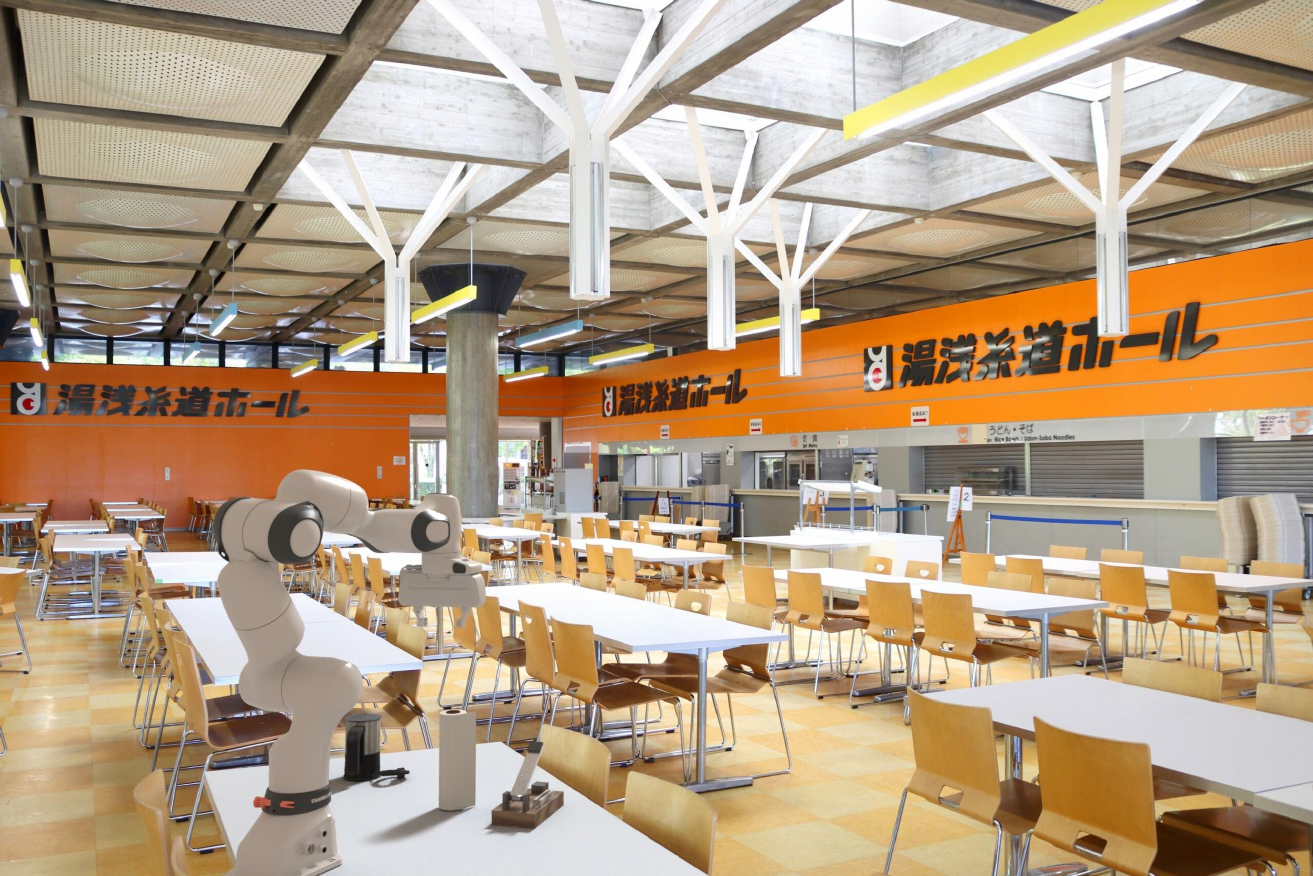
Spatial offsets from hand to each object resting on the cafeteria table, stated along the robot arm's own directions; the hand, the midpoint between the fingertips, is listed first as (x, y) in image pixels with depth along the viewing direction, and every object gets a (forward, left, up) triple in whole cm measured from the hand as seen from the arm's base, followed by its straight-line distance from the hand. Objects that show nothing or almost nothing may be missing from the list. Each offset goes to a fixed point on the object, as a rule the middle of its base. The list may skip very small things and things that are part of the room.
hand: (441, 626), depth 229 cm
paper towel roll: (+3, -2, -41) cm, 41 cm away
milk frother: (+20, +28, -41) cm, 53 cm away
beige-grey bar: (+2, -20, -32) cm, 37 cm away
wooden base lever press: (+3, -20, -41) cm, 45 cm away
